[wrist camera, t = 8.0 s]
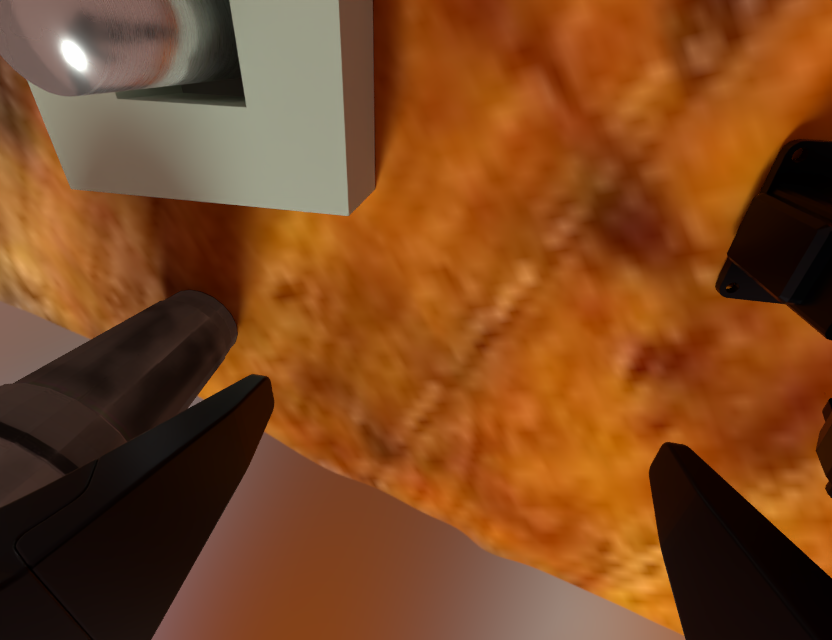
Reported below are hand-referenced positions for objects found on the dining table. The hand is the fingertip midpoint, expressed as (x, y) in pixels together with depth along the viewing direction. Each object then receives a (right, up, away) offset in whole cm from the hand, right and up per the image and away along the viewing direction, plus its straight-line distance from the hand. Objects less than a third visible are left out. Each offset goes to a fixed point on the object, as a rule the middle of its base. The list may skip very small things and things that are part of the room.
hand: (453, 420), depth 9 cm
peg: (-8, +14, +7) cm, 18 cm away
